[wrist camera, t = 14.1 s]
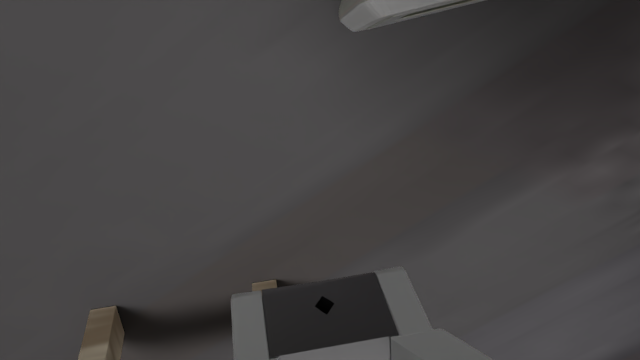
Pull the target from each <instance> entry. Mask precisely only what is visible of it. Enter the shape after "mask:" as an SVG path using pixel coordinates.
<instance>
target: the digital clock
mask: <svg viewBox="0 0 640 360" xmlns="http://www.w3.org/2000/svg"><path fill="white" fill-rule="evenodd" d="M481 1H485V0H342V1H341V4H340V7H339V19H340V22H341V23H343V24H344V25H345V26H346V27H347V28H349V29H350V30H351V31H353V32H358V31H362V30H366V29H367V30H369V29H373V28H377V27H381V26H385V25H389V24H393V23H397V22H401V21H405V20H409V19H413V18H417V17H421V16H425V15H429V14H433V13H437V12H441V11H445V10H449V9H453V8H457V7H461V6H465V5H469V4H473V3H477V2H481Z"/></svg>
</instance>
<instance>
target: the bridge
mask: <svg viewBox="0 0 640 360" xmlns="http://www.w3.org/2000/svg"><path fill="white" fill-rule="evenodd" d="M270 288H277V283H276V279H275V280H269V281H263V282H257V283H252V290H253V291H259V290H260V291H261V293H262V290H263V289H270ZM262 298H263V297H262ZM124 334H125V332H124V329H123V326H122V323H121V320H120V317H119V314H118V311H117V308H116V306H111V307H105V308H99V309H93V310H90V313H89V317H88V321H87V325H86V329H85V333H84V337H83V341H82V345H81V349H80V353H79V357H78V360H120V358H121V352H122V346H123V340H124Z"/></svg>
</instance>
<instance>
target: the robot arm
mask: <svg viewBox="0 0 640 360" xmlns="http://www.w3.org/2000/svg"><path fill="white" fill-rule="evenodd" d="M262 297H263V298H262ZM231 316H232V337H233V357H234V360H493V359H492V358H490V357H488V356H487V355H485V354H483V353H482V352H480V351H478V350H477V349H475V348H473V347H472V346H470V345H468V344H467V343H465V342H463V341H462V340H460V339H458V338H457V337H455V336H453V335H452V334H450V333H448V332H447V331H445V330H443V329H442V328H440V329H434V330H433V329H432V326H431V324H430V322H429V320H428V318H427V316H426V314H425V312H424V309H423V307H422V305H421V303H420V301H419V299H418V297H417V294H416V292H415V290H414V288H413V286H412V284H411V282H410V280H409V277H408V275H407V273H406V271H405V269H404V268H402V267H401V266H399V267H394V268H389V269H384V270H378V271H374V272H373V273H372V272H371V273H366V274H360V275H354V276H348V277H342V278H337V279H331V280H325V281H319V282H312V283H305V284H298V285H291V286H284V287H277V288H270V289H263V290H262V293H261V291H260V290H259V291H252V292H246V293H239V294H232V297H231Z"/></svg>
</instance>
